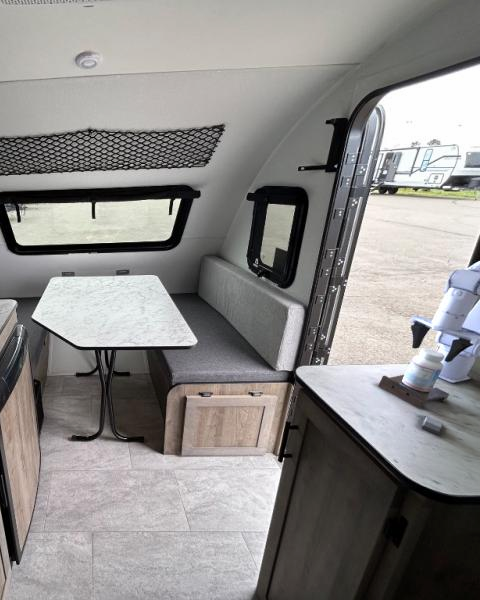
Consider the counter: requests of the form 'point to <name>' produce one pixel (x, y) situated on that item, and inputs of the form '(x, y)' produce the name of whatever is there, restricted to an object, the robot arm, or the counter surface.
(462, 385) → the counter surface
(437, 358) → the pill bottle
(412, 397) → the brown slab
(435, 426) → the grey faceted block
